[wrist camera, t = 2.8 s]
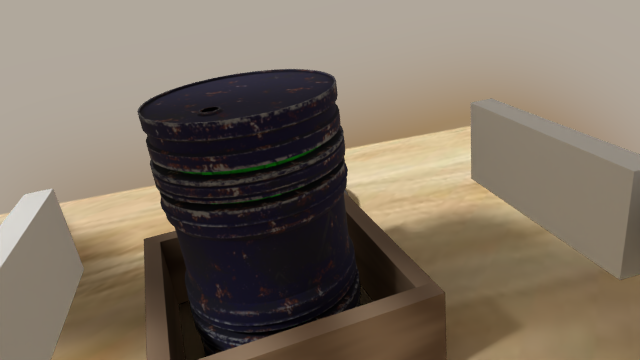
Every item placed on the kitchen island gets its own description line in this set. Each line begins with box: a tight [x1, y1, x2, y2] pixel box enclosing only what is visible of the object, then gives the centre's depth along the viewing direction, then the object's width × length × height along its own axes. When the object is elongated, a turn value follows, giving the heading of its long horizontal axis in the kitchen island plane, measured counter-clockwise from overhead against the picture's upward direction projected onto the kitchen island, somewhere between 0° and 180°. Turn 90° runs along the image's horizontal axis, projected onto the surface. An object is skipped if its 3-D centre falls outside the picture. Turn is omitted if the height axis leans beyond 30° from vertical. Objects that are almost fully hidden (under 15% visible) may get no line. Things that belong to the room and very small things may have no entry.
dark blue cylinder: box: [138, 69, 360, 357], centre depth 27 cm, size 10×10×15 cm
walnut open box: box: [144, 192, 446, 360], centre depth 29 cm, size 14×14×5 cm
